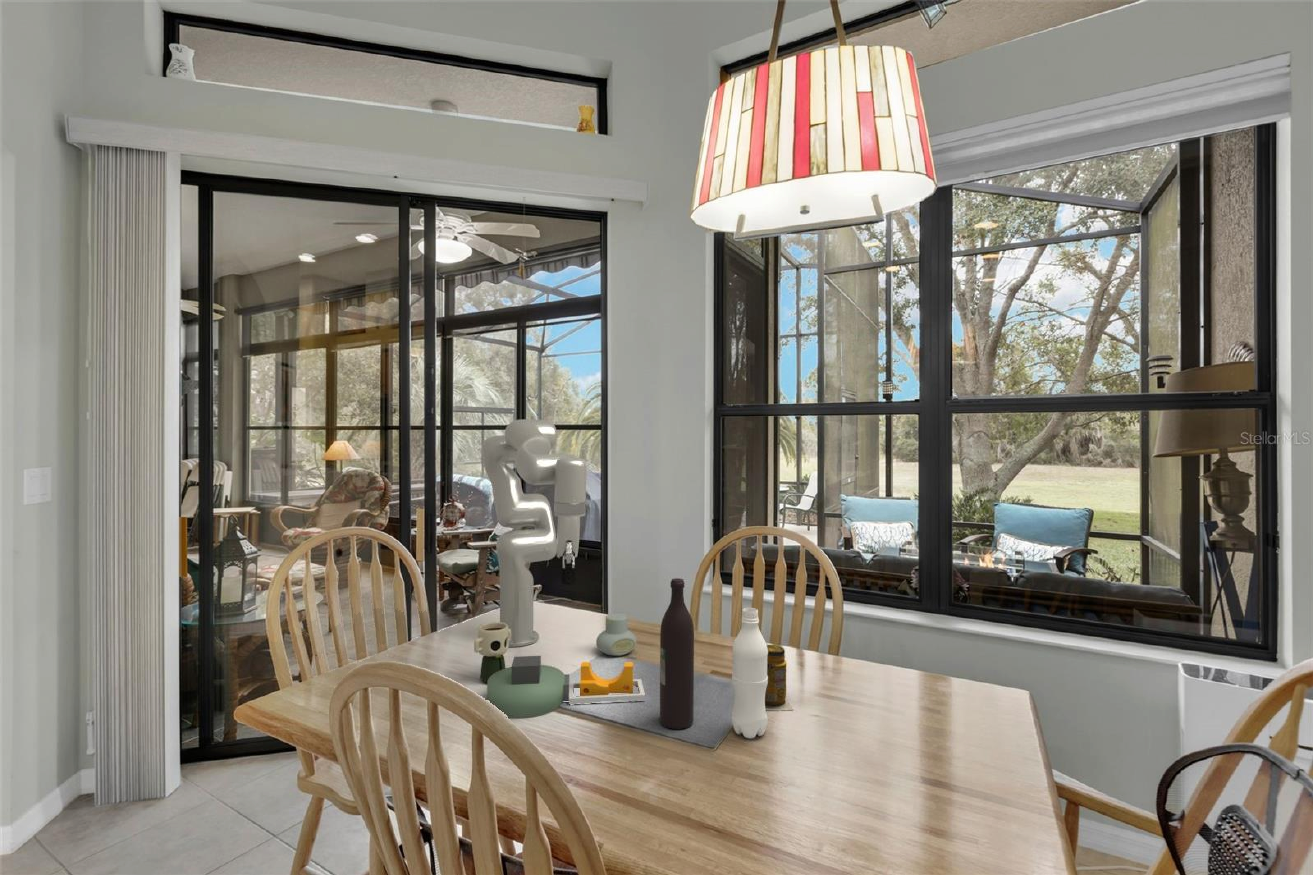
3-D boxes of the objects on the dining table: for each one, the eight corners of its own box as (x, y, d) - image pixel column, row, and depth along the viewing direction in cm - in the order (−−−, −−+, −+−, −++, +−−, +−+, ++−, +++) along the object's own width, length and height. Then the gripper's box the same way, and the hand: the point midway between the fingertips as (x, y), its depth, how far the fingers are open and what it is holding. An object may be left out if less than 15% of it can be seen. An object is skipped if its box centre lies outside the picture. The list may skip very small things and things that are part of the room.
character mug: (484, 690, 146) (484, 635, 146) (465, 683, 150) (465, 629, 150) (520, 676, 155) (520, 623, 155) (501, 669, 159) (501, 618, 159)
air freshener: (604, 661, 165) (604, 623, 165) (591, 651, 172) (592, 615, 172) (640, 653, 171) (641, 617, 170) (627, 644, 178) (627, 609, 178)
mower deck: (492, 686, 148) (492, 649, 148) (639, 680, 153) (639, 643, 153) (482, 720, 131) (482, 677, 131) (647, 711, 136) (647, 670, 136)
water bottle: (745, 744, 122) (746, 617, 122) (724, 728, 128) (725, 607, 128) (774, 736, 125) (775, 612, 125) (753, 721, 132) (754, 603, 131)
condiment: (784, 694, 145) (784, 643, 145) (793, 711, 137) (793, 656, 137) (752, 694, 145) (753, 643, 145) (760, 711, 137) (760, 656, 136)
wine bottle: (676, 711, 136) (676, 574, 136) (700, 722, 131) (701, 579, 131) (652, 722, 131) (653, 579, 131) (677, 734, 126) (678, 585, 126)
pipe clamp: (579, 697, 142) (579, 669, 142) (581, 689, 147) (582, 662, 147) (632, 697, 142) (632, 669, 142) (633, 689, 147) (633, 662, 147)
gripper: (555, 502, 159) (553, 568, 160) (553, 515, 142) (551, 589, 143) (584, 503, 161) (582, 568, 162) (586, 515, 143) (584, 589, 144)
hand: (568, 578), depth 152 cm, fingers open, 9 cm apart
